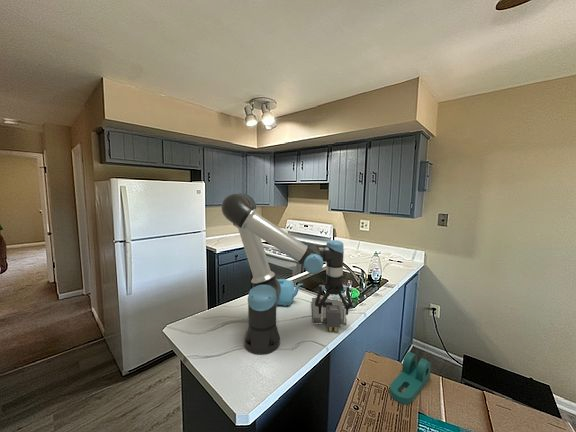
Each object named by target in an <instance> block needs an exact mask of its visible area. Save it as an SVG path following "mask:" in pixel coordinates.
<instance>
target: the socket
mask: <svg viewBox="0 0 576 432" xmlns="http://www.w3.org/2000/svg"><path fill="white" fill-rule="evenodd" d="M322 298H323V297H320V300H319V303H320V301H321V299H322ZM328 298H329V297H328ZM328 298H327V299H326V301H325V302H324V304H323V322H321V314H319V307H318V306H315V301H316V297H312V298H311V310H312V311H311V312H313V313H312V324H313V323H318V325H320V324H319V323H322V324H321V325H327V323H326V305H339V308H340V311H341V324H343V325H342V326H347V321H348V319H347V318H346V323H344V321H343V302H342V300H341V301H338V300H330V299H328Z"/></svg>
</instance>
